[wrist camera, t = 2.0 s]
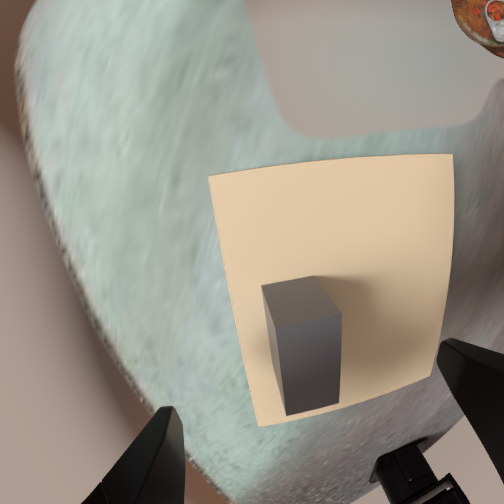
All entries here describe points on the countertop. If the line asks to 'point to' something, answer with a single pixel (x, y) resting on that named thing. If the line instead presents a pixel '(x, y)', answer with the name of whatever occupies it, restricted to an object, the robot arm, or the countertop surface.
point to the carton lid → (336, 276)
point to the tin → (482, 22)
